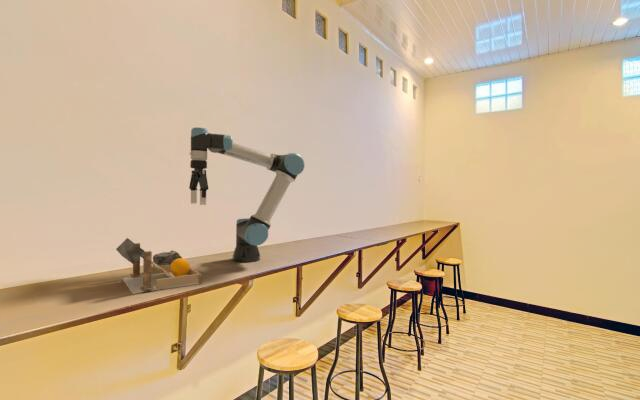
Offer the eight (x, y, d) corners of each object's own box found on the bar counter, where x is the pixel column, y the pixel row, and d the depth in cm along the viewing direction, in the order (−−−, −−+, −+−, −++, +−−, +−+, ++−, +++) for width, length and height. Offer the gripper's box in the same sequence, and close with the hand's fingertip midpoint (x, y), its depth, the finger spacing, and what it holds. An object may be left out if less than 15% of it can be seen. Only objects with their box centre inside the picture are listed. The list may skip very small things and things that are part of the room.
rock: (152, 273, 152) (157, 251, 153) (144, 269, 157) (148, 248, 158) (184, 273, 164) (188, 252, 165) (175, 269, 170) (179, 250, 171)
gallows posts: (140, 276, 147) (140, 242, 147) (154, 291, 127) (154, 252, 127) (130, 277, 145) (130, 243, 144) (142, 293, 125) (142, 253, 124)
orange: (172, 264, 139) (190, 258, 143) (167, 259, 145) (184, 253, 149) (176, 281, 141) (194, 275, 145) (170, 276, 147) (188, 270, 151)
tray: (183, 271, 158) (183, 263, 158) (200, 283, 139) (201, 274, 139) (122, 279, 142) (122, 270, 142) (132, 293, 123) (132, 283, 123)
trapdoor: (159, 280, 149) (169, 269, 151) (170, 291, 134) (181, 278, 136) (115, 248, 138) (126, 237, 140) (122, 256, 123) (135, 243, 126)
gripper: (183, 161, 170) (182, 202, 170) (199, 158, 150) (199, 205, 151) (198, 162, 174) (197, 202, 175) (216, 159, 155) (215, 205, 155)
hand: (198, 204), depth 163 cm, fingers open, 13 cm apart
